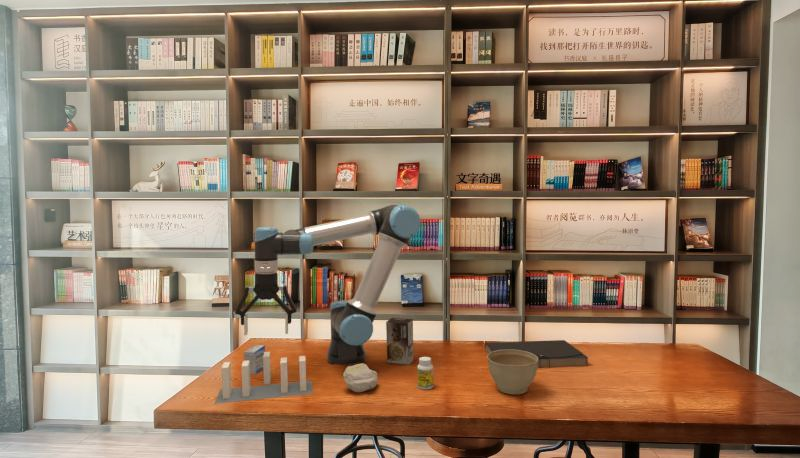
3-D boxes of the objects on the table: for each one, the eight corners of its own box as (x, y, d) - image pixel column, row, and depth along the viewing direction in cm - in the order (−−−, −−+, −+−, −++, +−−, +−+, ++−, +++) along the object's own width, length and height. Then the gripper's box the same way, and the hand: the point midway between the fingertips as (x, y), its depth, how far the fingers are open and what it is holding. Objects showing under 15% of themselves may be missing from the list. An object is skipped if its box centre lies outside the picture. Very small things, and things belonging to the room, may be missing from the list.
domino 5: (306, 384, 161) (305, 355, 160) (306, 390, 155) (305, 360, 155) (300, 385, 160) (299, 356, 159) (300, 391, 155) (299, 361, 154)
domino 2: (250, 389, 157) (249, 360, 156) (249, 396, 152) (247, 365, 151) (244, 390, 156) (243, 360, 156) (242, 396, 151) (241, 366, 151)
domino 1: (231, 391, 155) (230, 361, 155) (229, 398, 150) (228, 367, 150) (225, 392, 155) (224, 362, 154) (222, 398, 150) (221, 368, 149)
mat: (311, 381, 164) (311, 380, 164) (312, 394, 153) (312, 393, 153) (220, 390, 158) (220, 389, 157) (214, 404, 147) (214, 403, 147)
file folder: (500, 359, 173) (484, 340, 197) (500, 370, 173) (484, 350, 197) (588, 356, 175) (562, 338, 199) (588, 367, 175) (562, 347, 199)
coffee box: (414, 359, 185) (413, 318, 183) (409, 365, 179) (408, 323, 177) (392, 357, 188) (391, 317, 186) (386, 362, 182) (385, 321, 180)
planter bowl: (535, 381, 161) (536, 350, 161) (539, 401, 146) (540, 367, 145) (487, 378, 165) (487, 347, 164) (486, 397, 149) (486, 364, 148)
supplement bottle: (435, 384, 160) (434, 356, 159) (431, 390, 155) (431, 362, 154) (419, 382, 162) (419, 355, 161) (415, 388, 157) (415, 360, 156)
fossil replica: (384, 386, 159) (359, 384, 164) (383, 361, 160) (358, 359, 165) (365, 397, 149) (339, 394, 154) (364, 370, 149) (338, 368, 154)
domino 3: (271, 379, 167) (270, 351, 166) (270, 384, 162) (269, 356, 161) (265, 379, 166) (264, 351, 166) (264, 385, 161) (263, 356, 161)
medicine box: (255, 375, 170) (254, 352, 170) (244, 374, 171) (243, 351, 171) (266, 367, 178) (265, 345, 178) (255, 367, 179) (254, 344, 178)
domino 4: (287, 386, 159) (287, 357, 159) (287, 392, 154) (286, 362, 153) (281, 386, 159) (280, 357, 158) (281, 393, 154) (280, 363, 153)
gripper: (225, 274, 156) (226, 337, 157) (303, 273, 160) (303, 335, 162) (230, 271, 163) (230, 331, 165) (303, 270, 168) (303, 329, 169)
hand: (266, 333), depth 163 cm, fingers open, 13 cm apart
